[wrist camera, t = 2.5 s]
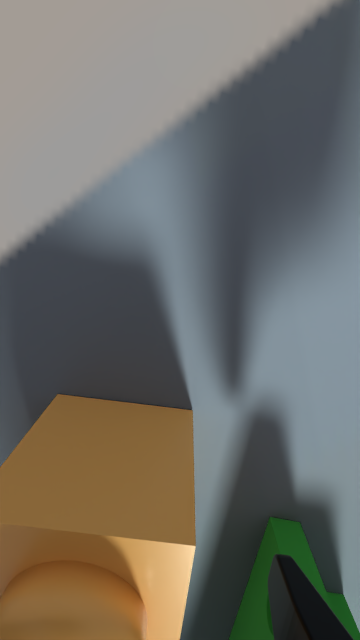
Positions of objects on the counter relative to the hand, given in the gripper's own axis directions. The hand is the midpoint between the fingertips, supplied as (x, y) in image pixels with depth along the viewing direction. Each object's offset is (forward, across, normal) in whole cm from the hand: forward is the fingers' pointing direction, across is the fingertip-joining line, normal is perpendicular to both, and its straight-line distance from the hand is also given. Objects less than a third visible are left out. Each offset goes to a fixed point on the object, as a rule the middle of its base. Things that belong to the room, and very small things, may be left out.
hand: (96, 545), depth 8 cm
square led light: (+3, 0, 0) cm, 3 cm away
